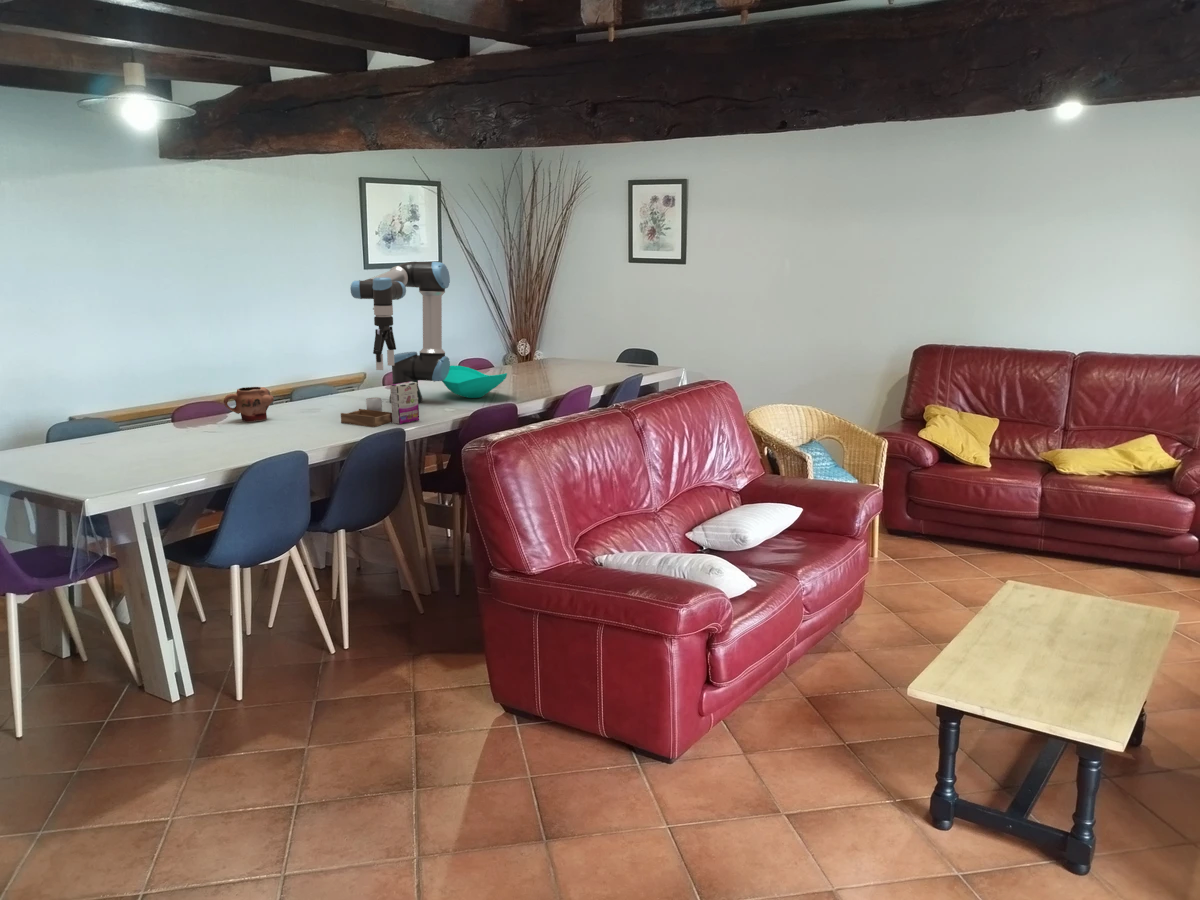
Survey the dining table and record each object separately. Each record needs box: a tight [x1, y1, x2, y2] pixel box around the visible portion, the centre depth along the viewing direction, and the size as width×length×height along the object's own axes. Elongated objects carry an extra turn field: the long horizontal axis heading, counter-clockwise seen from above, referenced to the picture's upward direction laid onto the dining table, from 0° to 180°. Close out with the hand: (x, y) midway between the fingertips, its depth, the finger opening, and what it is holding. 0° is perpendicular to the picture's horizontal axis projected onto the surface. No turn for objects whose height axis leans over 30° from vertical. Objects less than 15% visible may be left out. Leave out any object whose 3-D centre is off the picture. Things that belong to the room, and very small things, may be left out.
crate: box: [340, 408, 392, 428], centre depth 383 cm, size 12×17×4 cm
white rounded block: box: [365, 397, 383, 411], centre depth 395 cm, size 6×6×8 cm
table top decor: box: [441, 365, 508, 399], centre depth 444 cm, size 40×28×13 cm
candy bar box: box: [389, 382, 420, 425], centre depth 384 cm, size 11×5×16 cm, turn 143°
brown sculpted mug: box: [223, 386, 275, 423], centre depth 382 cm, size 20×12×14 cm, turn 132°
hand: (385, 367), depth 379 cm, fingers open, 13 cm apart
